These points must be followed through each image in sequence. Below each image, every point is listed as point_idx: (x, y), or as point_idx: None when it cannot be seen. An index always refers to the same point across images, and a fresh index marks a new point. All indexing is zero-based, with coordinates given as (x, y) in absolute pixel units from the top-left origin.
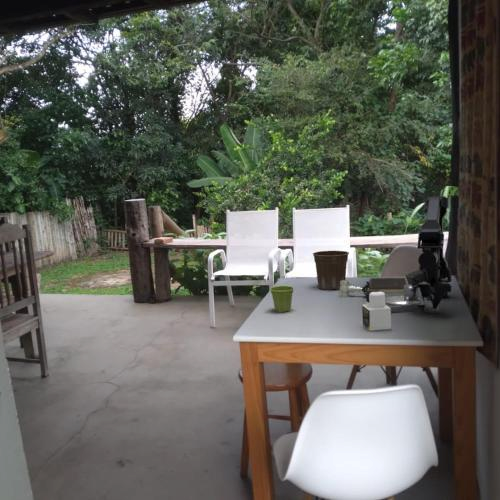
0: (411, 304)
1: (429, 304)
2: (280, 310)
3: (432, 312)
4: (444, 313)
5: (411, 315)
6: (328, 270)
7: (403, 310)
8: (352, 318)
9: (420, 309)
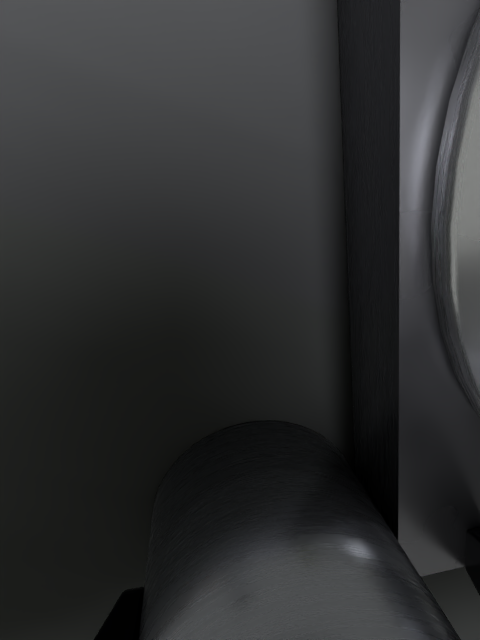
0: (442, 269)
1: (157, 608)
2: None
3: (153, 514)
4: None
5: (41, 137)
6: None
7: (353, 64)
8: None
9: (358, 398)
